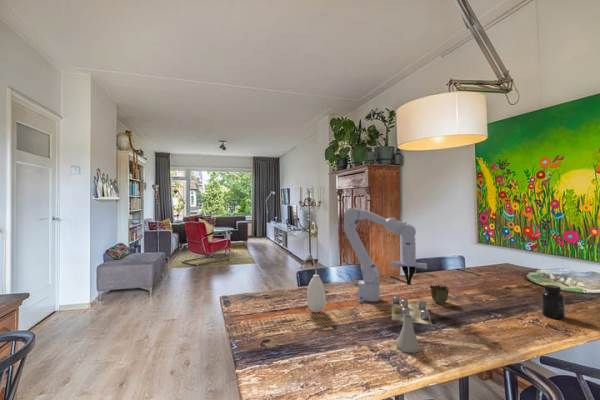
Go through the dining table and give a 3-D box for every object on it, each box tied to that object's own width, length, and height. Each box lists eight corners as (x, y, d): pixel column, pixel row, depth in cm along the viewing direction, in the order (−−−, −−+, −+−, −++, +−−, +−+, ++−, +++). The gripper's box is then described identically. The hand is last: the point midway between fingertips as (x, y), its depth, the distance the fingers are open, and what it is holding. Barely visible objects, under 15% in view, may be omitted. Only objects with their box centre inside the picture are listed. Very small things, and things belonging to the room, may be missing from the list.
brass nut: (394, 312, 115) (394, 307, 115) (394, 308, 118) (393, 303, 118) (404, 313, 113) (404, 308, 113) (404, 310, 117) (404, 305, 117)
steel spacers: (392, 316, 111) (392, 308, 111) (392, 302, 126) (392, 295, 126) (429, 320, 106) (429, 312, 106) (425, 305, 122) (425, 298, 122)
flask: (392, 342, 93) (392, 312, 93) (413, 341, 94) (413, 311, 94) (402, 354, 86) (402, 321, 86) (425, 353, 86) (425, 320, 86)
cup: (451, 308, 121) (451, 290, 121) (432, 307, 123) (432, 289, 123) (445, 302, 129) (445, 284, 129) (428, 301, 130) (428, 284, 130)
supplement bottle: (559, 314, 115) (559, 284, 115) (568, 320, 109) (568, 289, 109) (538, 312, 117) (538, 283, 117) (546, 318, 111) (546, 287, 111)
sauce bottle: (327, 315, 115) (326, 270, 115) (307, 316, 114) (307, 271, 114) (324, 308, 123) (323, 266, 123) (306, 308, 122) (305, 266, 122)
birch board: (391, 322, 108) (391, 319, 108) (391, 305, 126) (391, 302, 126) (432, 327, 103) (432, 324, 103) (426, 308, 122) (426, 305, 122)
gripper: (391, 253, 123) (391, 284, 123) (427, 255, 118) (427, 288, 118) (391, 250, 129) (391, 280, 129) (425, 252, 125) (425, 283, 125)
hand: (408, 283), depth 124 cm, fingers closed
